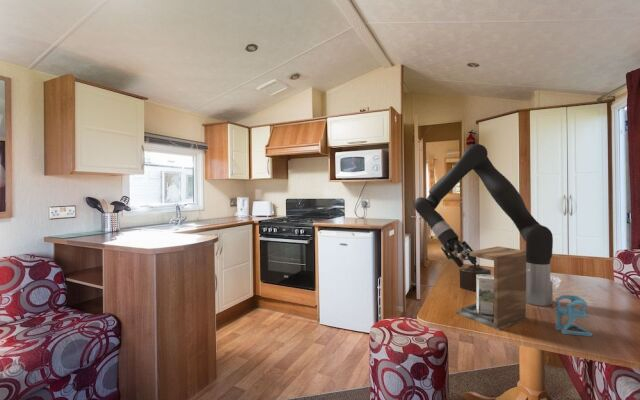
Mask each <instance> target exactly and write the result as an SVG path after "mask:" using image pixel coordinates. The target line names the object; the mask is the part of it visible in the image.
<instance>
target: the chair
mask: <svg viewBox="0 0 640 400" xmlns="http://www.w3.org/2000/svg"><path fill="white" fill-rule="evenodd" d="M564 299H568V300H569V301H571V302H569V303H567V304H566V305H567V306H566V307H565V306H563V307H562V305H561V302H560V301H561V300H564ZM555 300H556V303H557V304H556V305H557V306H554V311H556V321H555V330H556V331H560V333H561V334H564V335H565V334H566V335H574V336H575V335H576V336H584V337H593V333H592V332H590V331H588V330H587V329H585V328H583V327H581V326H580V325H577V324H576V323H573V322H574V321H576V320H578V319H580V318H589V313H586V307H587V305H588V303H587V301H585V300H584V298H583V297H580V296H578V295H569V294H565V295H560V296H558V297H556V298H555ZM576 305H577V306H578V305H580V306H583V307H582V308H581V310H580V309H578V308H576V307H575V306H576ZM563 315H564V316H565V317H568V319H567V321H566V323H565V324H563V325H562V317H563ZM570 328H575V329H577V330H570ZM578 330H579V331H578Z"/></svg>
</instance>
